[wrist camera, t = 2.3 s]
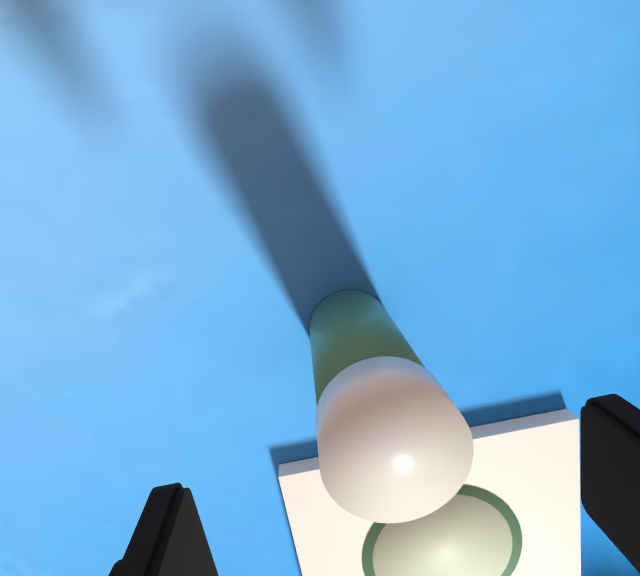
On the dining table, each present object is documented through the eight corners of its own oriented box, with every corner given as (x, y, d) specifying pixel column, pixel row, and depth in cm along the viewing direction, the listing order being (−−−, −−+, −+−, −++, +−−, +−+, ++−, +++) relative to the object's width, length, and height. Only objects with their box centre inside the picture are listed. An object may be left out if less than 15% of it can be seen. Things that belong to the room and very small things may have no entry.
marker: (384, 280, 20) (466, 375, 11) (395, 357, 21) (479, 507, 12) (299, 296, 20) (305, 405, 11) (315, 373, 21) (333, 536, 12)
